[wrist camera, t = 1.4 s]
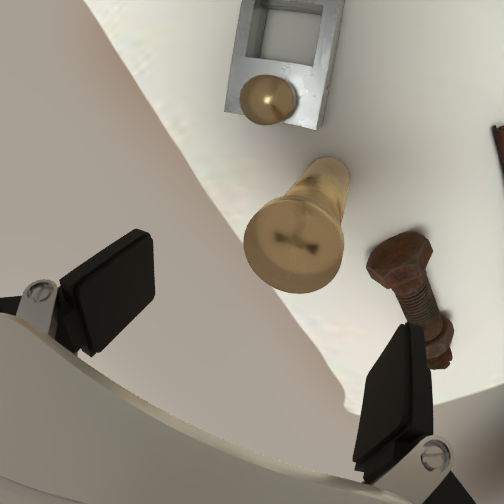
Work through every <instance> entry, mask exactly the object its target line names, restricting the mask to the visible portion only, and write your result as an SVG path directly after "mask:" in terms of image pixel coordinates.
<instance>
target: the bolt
mask: <svg viewBox="0 0 504 504" xmlns="http://www.w3.org/2000/svg"><path fill="white" fill-rule="evenodd" d="M432 252H433V250H432V247H431V244H430V242H429V240H428V239H427V238H425V237H424V236H423V235H421V234H419V233H417V232H408V233H402V234H399V235H397V236H394V237H392V238H390V239H388V240H386V241H385V242H383V243H382V244H380V245H379V246H378V247H377V248H376V249H374V250H373V252H372V253H371V255H370V256H369V259H368V262H367V265H366V269H367V271H368V273H369V275H370V276H371V278H372V279H374V280H375V281H377V282H378V283H379V284H381V285H382V286H384V287H385V288H386V289H390V288H391V289H392V291H394V293H395V295H396V297H397V299H398V301H399V303H400V306H401V308H402V311H403V313H404V315H405V317H406V319H407V321H408V322H412V323H415V324H418V325H421V326H423V330H424V338H425V346H426V356H427V367H428V368H429V369H433V370H436V369H446V368H447V367H448V366H449V365H450V362H449V361H452V352H451V349H450V344H451V341H452V338H453V334H454V328H453V325H452V323H451V322H450V321H449V320H448V319H447V318H446V317H445V316H443V315H441V314H440V312H439V309H438V307H437V304H436V301H435V298H434V295H433V292H432V289H431V287H430V284H429V281H428V278H427V276H426V270H425V268H426V266H427V264H428V261H429V259H430V257H431V255H432Z"/></svg>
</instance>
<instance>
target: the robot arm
mask: <svg viewBox="0 0 504 504" xmlns="http://www.w3.org/2000/svg"><path fill="white" fill-rule="evenodd" d="M59 281H60V285H61V286H60V287H58V288H57V285H56V284H55V283H54V282H53V281H51V280H45V279H43V280H38V281H35V282H33V283H31V284H30V285H29V286H28V287H27V288H26V289H25V291H24V292H23V295H22V296H15V297H4V298H0V504H476V503H475V501H474V500H473V499H472V497H471V496H470V495H469V494H468V492H467V491H466V490H465V488H464V487H463V486H462V484H461V483H460V482H459V481H458V479H457V478H456V477H455V475H454V474H453V473H452V472H451V468H452V467H453V463H454V451H453V449H452V446H451V445H450V443H449V442H448V441H447V440H446V439H445V438H443V437H441V436H438V435H433V397H432V380H431V371H430V369H429V368H428V367H427V356H426V346H425V338H424V330H423V326H421V325H418V324H415V323H412V322H406V323H405V325H404V324H400V326H399V327H398V329H397V330H396V332H395V333H394V335H393V337H392V338H391V340H390V341H389V343H388V345H387V346H386V348H385V349H384V351H383V352H382V354H381V355H380V357H379V358H378V360H377V361H376V363H375V364H374V366H373V367H372V369H371V370H370V372H369V373H368V375H367V378H366V383H365V390H364V397H363V404H362V410H361V417H360V423H359V429H358V434H357V439H356V444H355V449H354V454H353V462H356V466H355V471H361V472H364V476H363V479H364V481H363V482H362V483H359V482H356V481H352V480H348V479H344V478H340V477H336V476H332V475H328V474H324V473H320V472H317V471H313V470H309V469H306V468H303V467H299V466H296V465H293V464H289V463H286V462H283V461H280V460H277V459H274V458H271V457H268V456H265V455H262V454H259V453H256V452H254V451H251V450H249V449H246V448H243V447H241V446H238V445H236V444H233V443H231V442H228V441H226V440H224V439H221V438H219V437H217V436H214V435H212V434H210V433H208V432H205V431H203V430H201V429H199V428H197V427H195V426H192V425H190V424H188V423H186V422H184V421H182V420H180V419H178V418H176V417H174V416H172V415H170V414H169V413H167V412H165V411H163V410H161V409H159V408H157V407H156V406H154V405H152V404H150V403H148V402H147V401H145V400H143V399H141V398H140V397H138V396H136V395H135V394H133V393H131V392H130V391H128V390H126V389H125V388H123V387H121V386H120V385H118V384H116V383H115V382H113V381H112V380H110V379H109V378H107V377H106V376H104V375H103V374H101V373H100V372H98V371H97V370H95V369H94V368H92V367H91V366H90V365H88V364H87V363H85V362H84V361H82V360H81V359H80V358H78V357H77V354H78V353H77V352H78V350H79V349H80V348H81V349H82V351H83V352H85V353H86V354H88V355H89V356H90V357H93V356H94V355H95V354H96V352H97V353H99V352H101V351H102V350H103V349H104V348H105V347H106V346H107V345H108V344H109V343H110V342H111V341H112V340H113V339H114V338H115V337H116V336H117V335H118V334H119V333H120V332H121V331H122V330H123V329H124V328H125V327H126V326H127V325H128V324H129V323H130V322H131V321H132V320H133V319H134V318H135V317H136V316H137V315H138V314H139V313H140V312H141V311H142V310H143V309H144V308H145V307H146V306H147V305H148V304H149V303H150V302H151V301H152V300H153V298H154V296H155V280H154V254H153V240H152V238H151V236H150V234H149V233H148V232H145V231H142V230H139V229H134V230H132V231H131V232H129V233H128V234H126V235H124V236H123V237H121V238H120V239H118V240H117V241H115V242H114V243H112V244H111V245H109V246H108V247H106V248H105V249H103V250H102V251H100V252H99V253H97V254H96V255H94V256H93V257H92V258H90V259H88V260H87V261H86V262H84V263H82V264H81V265H80V266H78V267H77V268H75V269H74V270H72V271H71V272H70V273H68V274H67V275H65V276H64V277H63V278H61V279H60V280H59Z"/></svg>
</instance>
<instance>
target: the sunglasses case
mask: <svg viewBox="0 0 504 504" xmlns="http://www.w3.org/2000/svg"><path fill="white" fill-rule="evenodd" d="M493 131H494V136H495V140H496V144H497V147H498V151H499V155H500V159H501V163H502V167H503V171H504V126H501V127H499V128H496V125H494V126H493Z"/></svg>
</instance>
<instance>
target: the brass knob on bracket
mask: <svg viewBox="0 0 504 504" xmlns="http://www.w3.org/2000/svg"><path fill="white" fill-rule="evenodd" d="M344 2H345V0H242V3H241V8H240V14H239V19H238V25H237V31H236V37H235V43H234V49H233V55H232V62H231V68H230V75H229V81H228V88H227V95H226V103H225V110H224V112H230V113H236V114H242V115H245V116H246V117H247V118H248V119H249V120H251V121H252V122H254V123H256V124H260V125H272V124H276V123H280V122H284V123H288V124H293V125H297V126H301V127H305V128H309V129H313V130H316V129H318V128H320V127H321V126H322V122H323V117H324V112H325V107H326V102H327V97H328V91H326V90H327V85H329V86H330V82H331V77H332V71H333V66H334V61H335V55H336V50H337V44H338V38H339V32H340V27H341V21H342V14H343V8H344ZM268 9H275V10H286V11H296V12H304V13H311V14H318V15H322V19H321V25H320V31H319V36H318V42H317V48H316V53H315V59H314V64H313V67H311V66H306V65H301V64H295V63H289V62H282V61H275V60H267V59H259V57H260V51H261V45H262V39H263V33H264V28H265V22H266V16H267V11H268Z"/></svg>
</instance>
